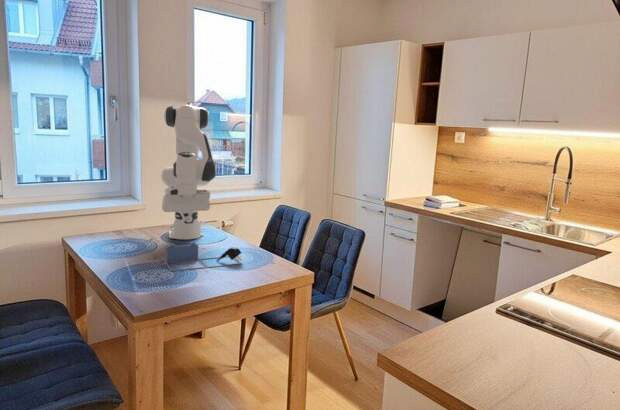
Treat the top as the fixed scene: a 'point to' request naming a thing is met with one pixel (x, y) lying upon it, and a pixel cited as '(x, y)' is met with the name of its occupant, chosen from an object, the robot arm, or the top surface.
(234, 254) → the power plug
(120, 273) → the top surface
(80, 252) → the top surface
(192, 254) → the frame
